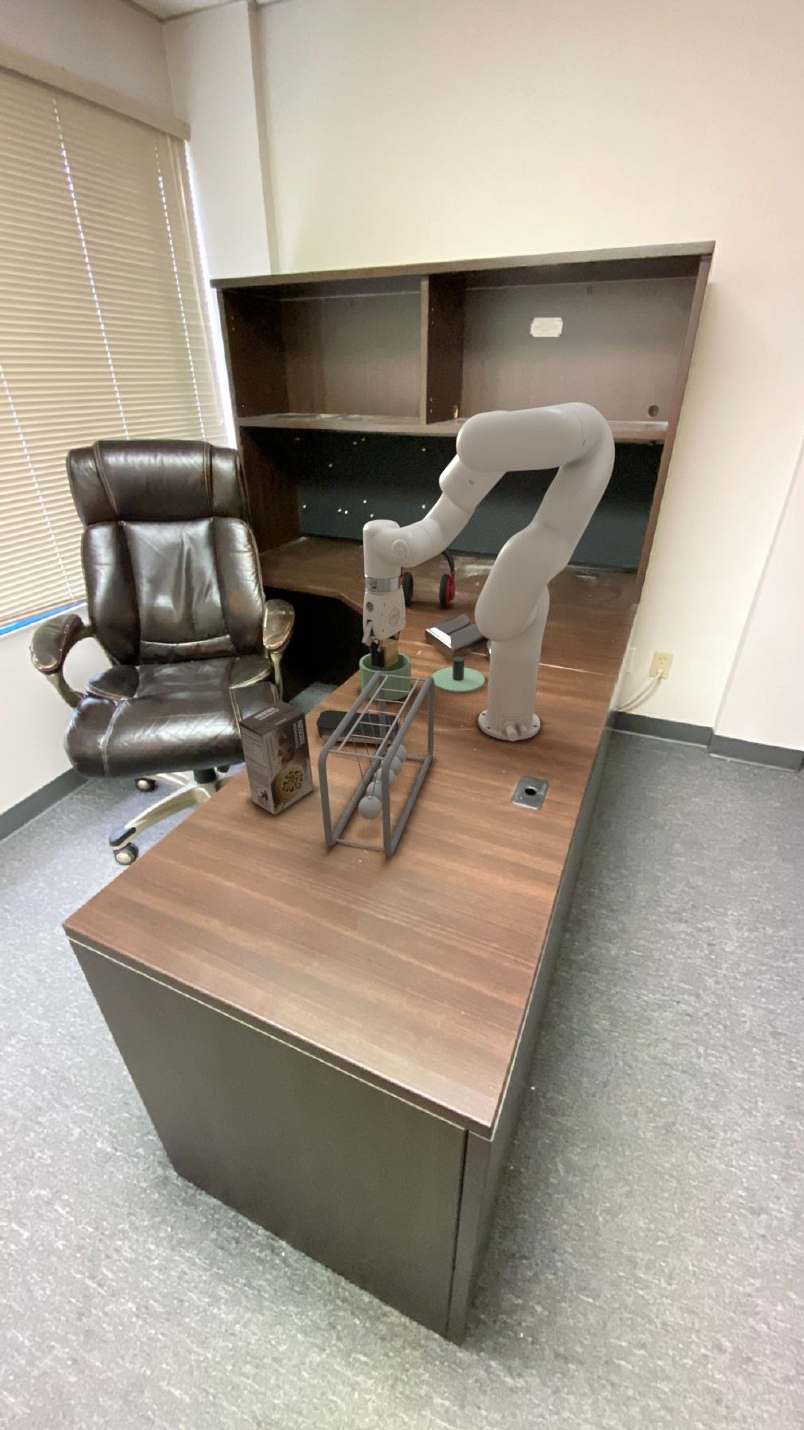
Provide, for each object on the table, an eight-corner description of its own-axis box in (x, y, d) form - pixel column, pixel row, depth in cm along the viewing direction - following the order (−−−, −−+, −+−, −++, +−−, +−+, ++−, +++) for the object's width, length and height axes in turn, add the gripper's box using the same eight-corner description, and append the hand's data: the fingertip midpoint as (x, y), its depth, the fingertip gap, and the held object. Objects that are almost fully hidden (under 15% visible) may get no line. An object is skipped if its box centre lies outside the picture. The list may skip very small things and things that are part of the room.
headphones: (455, 601, 192) (458, 537, 182) (451, 612, 184) (453, 545, 174) (401, 598, 195) (400, 535, 185) (395, 608, 187) (393, 543, 177)
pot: (412, 702, 135) (412, 671, 131) (360, 703, 134) (359, 673, 131) (409, 679, 145) (409, 650, 141) (361, 680, 144) (359, 651, 140)
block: (398, 661, 136) (397, 640, 134) (386, 668, 133) (386, 647, 131) (382, 656, 139) (381, 636, 136) (370, 663, 135) (370, 642, 133)
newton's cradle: (390, 863, 91) (387, 766, 82) (325, 851, 93) (315, 755, 85) (434, 755, 116) (435, 672, 107) (381, 748, 119) (378, 666, 110)
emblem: (433, 603, 175) (532, 609, 170) (433, 621, 177) (530, 627, 172) (415, 641, 151) (529, 649, 146) (415, 660, 154) (527, 669, 149)
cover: (488, 694, 138) (490, 669, 134) (434, 696, 137) (434, 671, 134) (479, 670, 148) (481, 647, 145) (429, 672, 148) (429, 648, 145)
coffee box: (290, 776, 111) (280, 699, 103) (314, 790, 107) (306, 710, 99) (250, 801, 105) (236, 720, 97) (274, 816, 101) (262, 733, 93)
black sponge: (314, 743, 120) (312, 727, 119) (325, 721, 128) (324, 706, 126) (395, 750, 118) (395, 734, 116) (402, 727, 125) (402, 712, 123)
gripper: (373, 597, 119) (375, 680, 128) (419, 575, 131) (419, 652, 140) (343, 590, 123) (348, 671, 132) (391, 569, 135) (392, 645, 144)
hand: (384, 661), depth 136 cm, fingers closed on block, 4 cm apart
